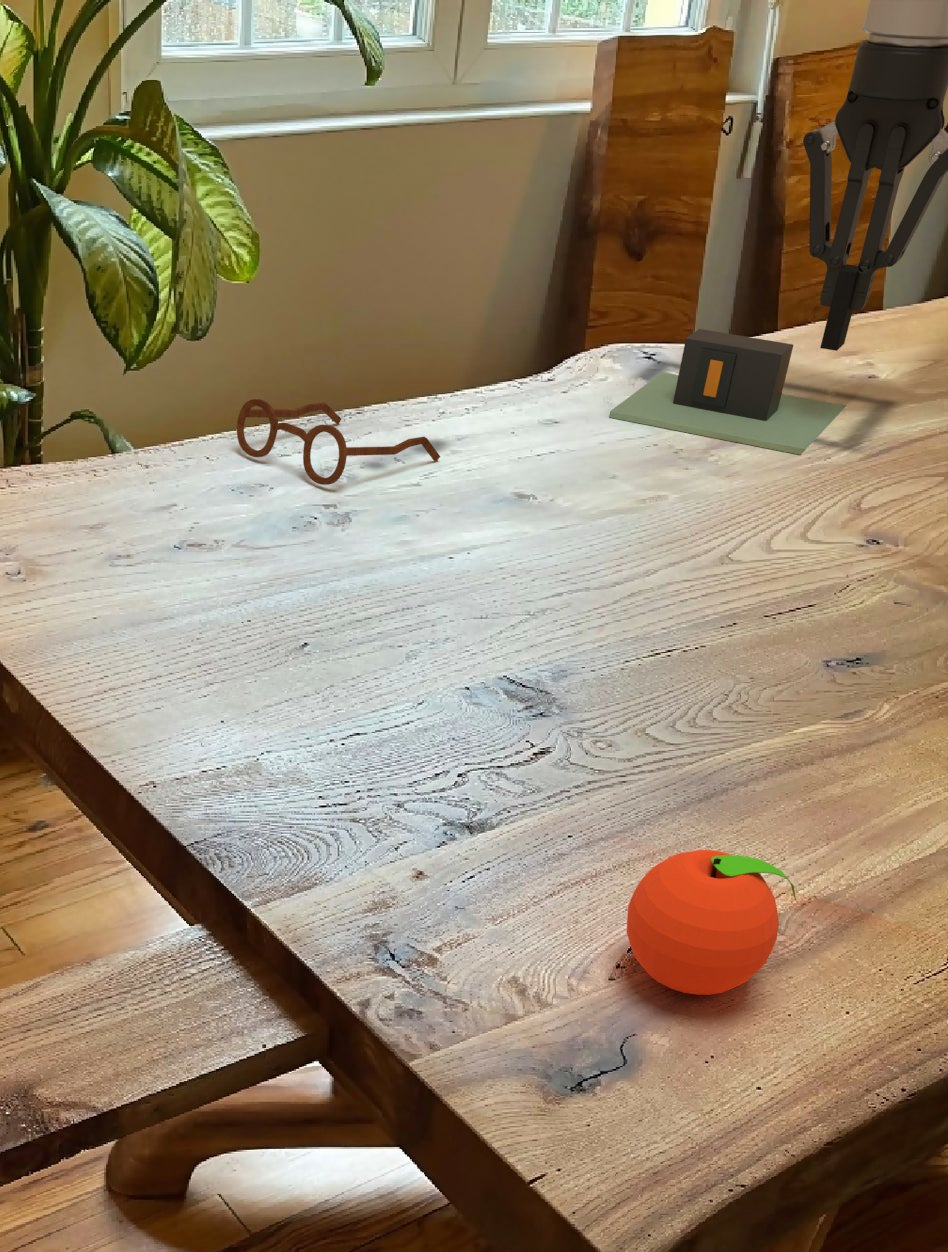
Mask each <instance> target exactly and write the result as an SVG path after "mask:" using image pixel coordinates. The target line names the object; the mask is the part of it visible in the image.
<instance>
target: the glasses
mask: <svg viewBox="0 0 948 1252" xmlns="http://www.w3.org/2000/svg"><path fill="white" fill-rule="evenodd" d="M254 407H259V409H258V408H254ZM253 408H254V409H253ZM260 408H261V409H260ZM318 411H322V412H323V413H324V414H325V415H326V416H327V417H329V418H330V420H332V421H333V422H334V423H335V424H336V425H339V424H340V423H341V421H342V417H340V416H339V415H338V413H337V412H336V411H334V410H333V409H332V408H331V407H330V406H329V404H327V403H326V402H317V403H310V404H306V405H303V406H300V407H297V408H295V409H288V408H287V409H281V408H280V409H277V408H276V409H275V408H273V407H272V405H271V404H270V403H269V402H267V401H266V400H264V399H260V398H252V399H248V400H247V401H246V402H245V403H244V404H243V405H242V407H241V409H240V410H239V414H238V416H237V420H236V437H237V442H238V444H239V446H240V448H241V450H242V451H243V453H245V454H246V455H248V456H250V457H251V458H252V457H253V458H263V457H266V456H268V454H270V452H271V451H272V449H273V447H274V445H275V442H276V439H277V436H278V435H277V434H278V431H284V432H286V433H289V434H291V435H294V436H297V437H299V438H300V439H301V440H302V441H303V452H302V461H303V469H304V472H305V473H306V476H308V478H309V479H310V480H311V481H313V483H316V484H318V485H321V486H327V485H328V486H329V485H333V484H335V483H337V481H338V480H339V479H340V478H341V476H342V475H343V473H344V471H345V467H346V464H347V457H353V456H354V457H355V456H357V457H358V456H393V455H397V454H399V453H401V452H403V451H405V450H407V449H408V448H411V447H416V446H419V445H421V446H422V447H423V449H424V450H425V451H426V453H427V454H428V455H429V456H430V458H431V459H432V460H433V462H435V463H437V462H438V460H439V459H440V458H441V456H440V454H439V453H438V451H437V450H436V449H435V447H434V446H433V444H432V443H431V441H430V440H429V438H427V437H426V436H418V437H411V438H408V439H406V440H404V441H402V442H400V443H397V444H396V445H393V446H388V445H387V446H349V447H348V446H347V443H346V439H345V437H344V435H343V434H342V432H341V431H340V430H339V429H338V428H337V427H335V426H333V425H330V424H317V425H315V426H314V427H312V428H311V429H310V430H308V432H306V431H305V429H303V428H301V427H299V426H296V425H294V424H291V423H288V422H279V419H278V418H298V417H301V416H303V415H306V414H308V413H311V412H318ZM246 418H268V420H269V427H270V428H269V434H268V438H267V441H266V442H265V445H264V446H263V447H262V448H261V449H259V450H257V449H254V448H252V447H251V446H250V444H248V442H247V439H246V436H245V423H246ZM321 433H327V434H330V435H331V436H332V437H333V439H335V442H336V444H337V447H338V461H337V464H336V466H335V470H334V471H333V472H332V474H331V475H329V476H328V477H323V476H321V475H319V474H318V473H317V472H316V471H315V470H314V468H313V465H312V460H311V452H312V446H313V442H314V440H315V438H316V437H317V436H318V435H319V434H321Z"/></svg>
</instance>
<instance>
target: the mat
mask: <svg viewBox="0 0 948 1252" xmlns="http://www.w3.org/2000/svg"><path fill="white" fill-rule="evenodd" d="M678 375H679V374H674V373H669V372H664V371H663V372H660V373H659V374H658V375H657V376H654V378H653V379H651V380H650V381H649V382H646V384H644V385H643V386H642V387H640V388H639V389H637V391H635V392H634V393H632V394H630V396H628V397H627V398H625V399H624V400H623V401H622V402H620V403H619V404H618V405H616V406H615V407H613V408H612V409H610V411H609V415H608V418H611V419H615V420H620V421H624V422H625V421H627V422H632V423H636V424H642V425H646V426H652V427H657V428H663V429H667V430H671V431H678V432H682V433H686V434H693V435H698V436H703V437H707V438H712V439H718V440H722V441H728V442H733V443H739V444H744V445H748V446H754V447H759V448H763V449H767V450H774V451H779V452H785V453H789V454H795V455H800V456H802V454H803V453H804V452H805V451H806V450H807V449H808V448H809V447H810V446H811V445H812V444H813V443H814V441H816V439H817V438H818V437H820V436H821V434H822V433H823V432H824V431H825V430H826V429H827V427H829V425H831V423H832V422H833V421H834V420H835V419H836V418H837V417H838V416H839V415H840V414H841V412H843V411H844V409H846V408H847V406H848V405H845V404H841V403H835V402H830V401H824V400H818V399H813V398H807V397H802V396H796V395H791V394H785V393H782V394H781V398H780V403H779V407H778V410H777V411H776V412H775V413H774V414H773V415H772V416H771V417H770V418H769V419H768V420H767V421H762V420H757V419H752V418H746V417H741V416H736V415H731V414H725V413H720V412H715V411H709V410H704V409H699V408H693V407H688V406H683V405H677V404H673V400H674V395H675V390H676V385H677V380H678Z"/></svg>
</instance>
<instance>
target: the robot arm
mask: <svg viewBox="0 0 948 1252" xmlns="http://www.w3.org/2000/svg"><path fill="white" fill-rule="evenodd" d="M862 30H863V31H864V33H865V34H868V38H867V39H865V40H863V41H862V42H861V43H860V44H859V45H858V48H857V52H856V55H855V59H854V65H853V69H852V72H851V78H850V82H849V84H848V85H849V86H848V90H847V94H846V98H845V100H844V102H843V103H842V105H841V107H840V108H838V111H837V112H836V115H835V117H834V120H833V121H832V122H829V123H827V124H826V125H824V126H822V127H821V128H816V129H813V130H811V131H809V132H807V133H806V134H805V135H804V137H803V139H802V143H803V147H804V150H805V153H806V156H807V158H808V162H809V165H810V166H809V250H808V251H809V255H810V256H811V257H813V258H817V259H819V260H821V261H823V262H824V263H825V265H826V273H825V277H824V281H823V286H822V290H821V293H820V297H819V300H820V301H819V302H820V306H824V307H828V308H829V311H828V315H827V320H826V323H825V326H824V331H823V334H822V335H823V336H822V339H821V342H820V347H819V349H823V350H828V351H829V350H831V351H836V352H838V351H839V350H840V349H841V348H842V347H843V346H844V345H845V342H846V339H847V334H848V331H849V327H850V324H851V319H852V316H853V311H859V312H860V311H862V310H863V309H864V308H865V306H866V305H867V304H868V302H869V298H870V294H871V291H872V287H873V283H874V280H875V276H876V272H877V270H879V269H884V268H891V267H893V266H894V265H896V264H897V263H898V262H899V261H900V260H901V259H902V258H903V257H904V254H905V252H906V251H907V249H908V247H909V245H910V243H911V241H912V238H913V237H914V235H915V233H916V231H917V229H918V228H919V225H920V224H921V222H922V220H923V218H924V216H925V214H926V212H927V210H928V208H929V206H930V204H931V203H932V201H933V198H934V197H935V194H936V192H937V191H938V188H939V187H940V185H941V183H942V181H943V179H944V177H945V175H946V174H947V172H948V132H947V131H946V130H945V129H944V127H945V115H944V101H945V97H946V95H947V94H946V93H947V90H948V0H869V1H868V5H867V9H866V13H865V16H864V21H863V26H862ZM838 136H839V139H840V142H841V144H842V147H843V150H844V152H845V154H846V157H847V159H848V161H849V163H850V166H849V169H848V174H847V182H846V187H845V190H844V194H843V199H842V203H841V207H840V212H839V215H838V219H837V224H836V228H835V231H834V236H833V240H832V239H831V237H832V236H831V235H832V187H833V186H832V185H833V184H832V183H833V182H832V179H833V176H832V175H833V174H832V173H833V158H832V151H834V150H835V148H836V146H837V137H838ZM931 143H932V150H931V152H930V153H929V156H928V160H929V163H930V164H931V165H930V167H928V169H927V171H926V172H925V174H924V176H923V177H922V179H921V182H920V184H919V185H918V188H917V189H916V192H915V193H914V195H913V196H912V199H911V201H910V203H909V205H908V207H907V209H906V211H905V213H904V214H903V217H902V219H901V221H900V223H899V225H898V227H897V228H896V230H895V233H894V235H893V236H892V239H891V241H890V242H889V244H888V246H887V248H886V249H883V248H884V245H885V240H886V237H887V233H888V231H889V225H890V222H891V218H892V214H893V211H894V206H895V202H896V199H897V194H898V191H899V186H900V184H901V180H902V178H903V175H904V173H905V168H906V167H907V166H908V165H910V164H911V163H912V162H913V161H914V160H915V159H916V158H917V157H918V156H919V155H920V154H921V153H922V152H923V151H924V150H925V149H926V148H927V147H928V146H930V144H931ZM873 169H877V170H879V171H880V174H879V178H878V187H877V191H876V195H875V199H874V203H873V207H872V211H871V215H870V218H869V223H868V226H867V231H866V234H865V239H864V243H863V246H862V250H861V255H860V258H859V263H858V264H857V265H855V264H848V262H847V261H848V260H849V259H850V258H851V255H852V254H851V251H852V247H853V243H854V238H855V234H856V231H857V227H858V222H859V219H860V215H861V210H862V207H863V203H864V199H865V196H866V191H867V188H868V185H869V184H868V183H869V180H870V177H871V175H872V171H873ZM831 241H832V242H831Z"/></svg>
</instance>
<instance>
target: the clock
mask: <svg viewBox="0 0 948 1252" xmlns="http://www.w3.org/2000/svg"><path fill="white" fill-rule="evenodd" d="M793 349H794V344H792V343H787V342H781V341H780V342H779V341H774V340H768V339H762V338H756V337H750V336H745V335H739V334H732V333H728V332H727V333H726V332H720V331H714V330H708V329H703V328H698V329H697V330H696V331H694V332H693V333H692V334H690V335H689V336H687V337H686V338H685V341H684V346H683V350H682V356H681V360H680V366H679V371H678V374H677V375H678V380H677V385H676V390H675V395H674V400H673V404H677V405H683V406H688V407H693V408H699V409H704V410H709V411H715V412H720V413H725V414H731V415H736V416H741V417H746V418H752V419H757V420H762V421H767V420H768V419H769V418H770V417H771V416H772V415H773V414H774V413H775V412H776V411H777V410H778V407H779V403H780V398H781V394H783V391H784V386H785V381H786V377H787V374H788V370H789V367H790V366H789V365H790V361H791V358H792V357H791V356H792V353H793Z"/></svg>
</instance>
